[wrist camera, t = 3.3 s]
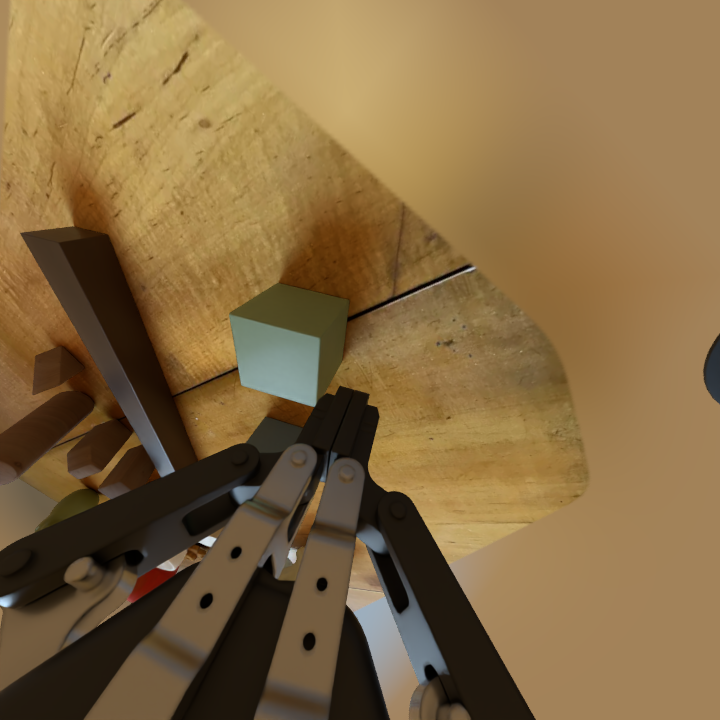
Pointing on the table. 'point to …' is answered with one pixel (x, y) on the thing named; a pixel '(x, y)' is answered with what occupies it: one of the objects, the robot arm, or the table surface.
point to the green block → (290, 342)
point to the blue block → (274, 436)
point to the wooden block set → (57, 418)
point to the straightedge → (113, 336)
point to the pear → (70, 507)
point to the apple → (149, 582)
